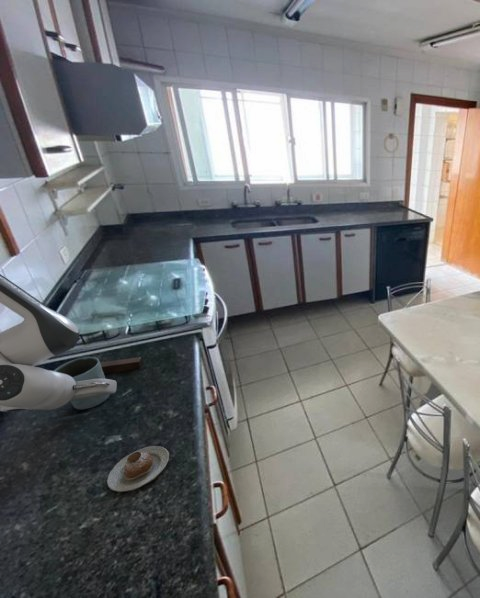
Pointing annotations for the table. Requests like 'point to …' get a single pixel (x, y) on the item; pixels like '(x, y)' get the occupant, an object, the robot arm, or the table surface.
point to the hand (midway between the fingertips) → (81, 395)
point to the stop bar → (121, 365)
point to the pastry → (138, 469)
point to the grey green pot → (84, 378)
